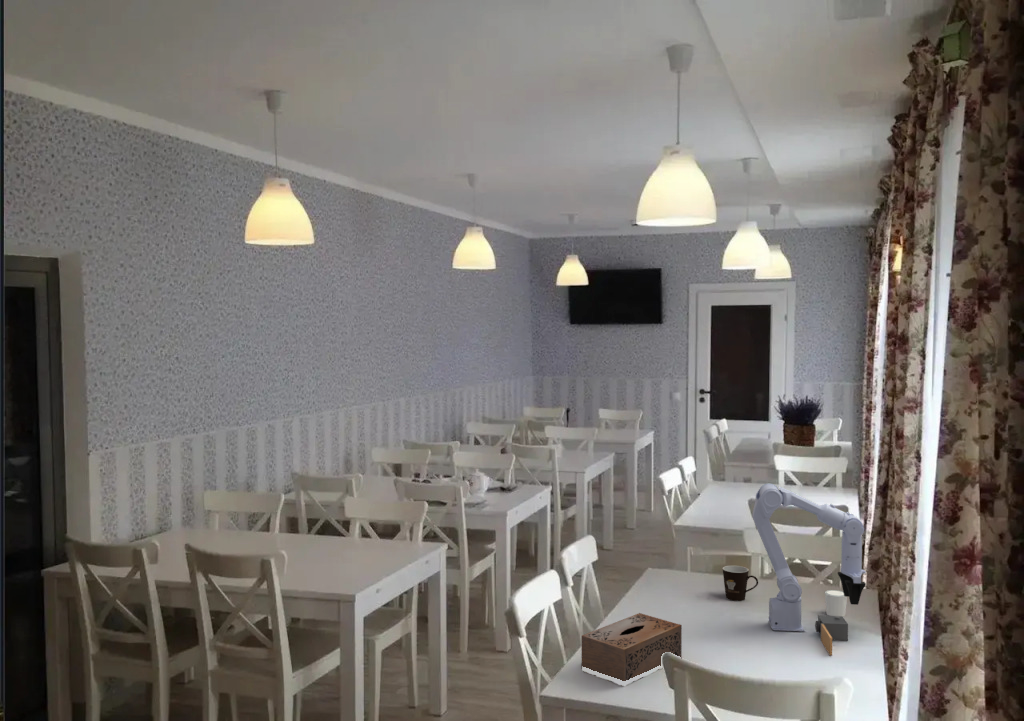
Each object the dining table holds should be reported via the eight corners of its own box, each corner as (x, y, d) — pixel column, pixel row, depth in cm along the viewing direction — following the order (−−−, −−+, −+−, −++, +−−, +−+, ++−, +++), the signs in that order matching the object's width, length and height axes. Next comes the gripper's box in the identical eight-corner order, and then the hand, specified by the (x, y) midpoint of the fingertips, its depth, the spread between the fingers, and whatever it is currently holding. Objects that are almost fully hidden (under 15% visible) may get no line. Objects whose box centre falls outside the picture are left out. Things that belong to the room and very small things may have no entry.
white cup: (843, 611, 282) (843, 589, 281) (849, 618, 275) (850, 596, 275) (821, 610, 282) (822, 589, 282) (827, 617, 276) (827, 595, 275)
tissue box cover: (639, 647, 252) (639, 613, 252) (681, 660, 242) (681, 625, 241) (581, 672, 234) (581, 635, 234) (624, 687, 224) (624, 649, 223)
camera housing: (818, 639, 256) (819, 621, 256) (813, 631, 263) (814, 613, 263) (847, 641, 255) (848, 622, 255) (842, 632, 262) (842, 614, 262)
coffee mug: (717, 596, 298) (717, 567, 297) (737, 592, 301) (737, 564, 301) (739, 606, 287) (739, 576, 287) (760, 602, 291) (760, 572, 291)
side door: (820, 639, 256) (820, 623, 256) (823, 640, 256) (823, 623, 256) (829, 655, 244) (829, 638, 244) (832, 655, 244) (832, 638, 244)
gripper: (872, 562, 255) (871, 608, 256) (859, 549, 269) (858, 593, 270) (846, 561, 256) (846, 607, 256) (835, 549, 270) (835, 592, 271)
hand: (851, 600), depth 263 cm, fingers open, 7 cm apart
